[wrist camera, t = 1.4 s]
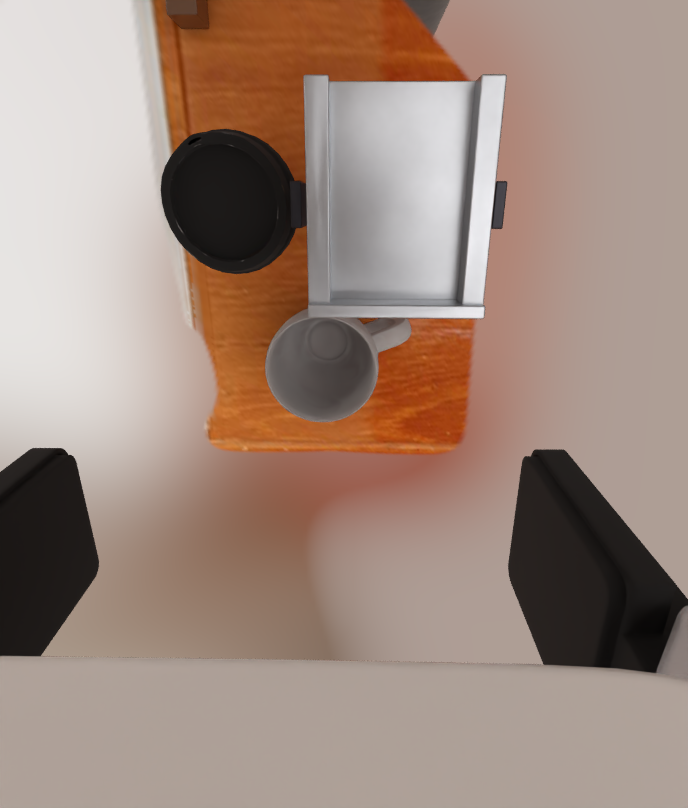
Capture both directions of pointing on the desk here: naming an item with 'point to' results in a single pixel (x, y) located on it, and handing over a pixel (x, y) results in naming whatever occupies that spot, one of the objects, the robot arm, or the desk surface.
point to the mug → (328, 363)
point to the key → (188, 13)
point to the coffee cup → (228, 200)
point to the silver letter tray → (400, 195)
